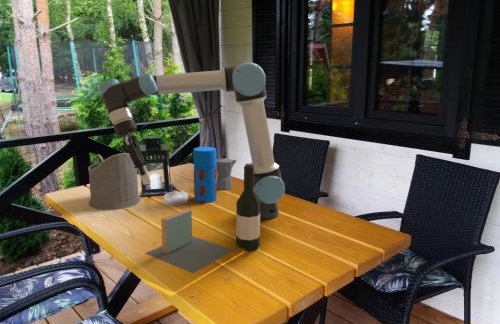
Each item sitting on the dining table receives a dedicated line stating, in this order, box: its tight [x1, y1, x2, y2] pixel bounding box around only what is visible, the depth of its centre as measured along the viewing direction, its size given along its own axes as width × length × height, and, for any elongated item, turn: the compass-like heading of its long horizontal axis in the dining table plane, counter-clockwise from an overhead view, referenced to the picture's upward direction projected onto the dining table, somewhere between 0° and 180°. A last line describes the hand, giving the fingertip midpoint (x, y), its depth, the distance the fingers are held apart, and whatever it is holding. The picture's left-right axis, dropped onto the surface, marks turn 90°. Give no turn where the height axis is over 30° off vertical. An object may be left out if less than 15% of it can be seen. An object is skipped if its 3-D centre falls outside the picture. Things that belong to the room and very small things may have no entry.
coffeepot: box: [216, 154, 237, 191], centre depth 208 cm, size 15×9×18 cm, turn 103°
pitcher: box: [88, 152, 142, 211], centre depth 185 cm, size 23×32×25 cm
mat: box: [144, 235, 234, 274], centre depth 133 cm, size 22×20×1 cm
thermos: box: [193, 146, 218, 204], centre depth 187 cm, size 11×11×25 cm
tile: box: [160, 208, 193, 254], centre depth 135 cm, size 2×12×12 cm, turn 144°
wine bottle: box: [235, 163, 261, 252], centre depth 136 cm, size 8×8×30 cm
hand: (147, 183), depth 140 cm, fingers closed
